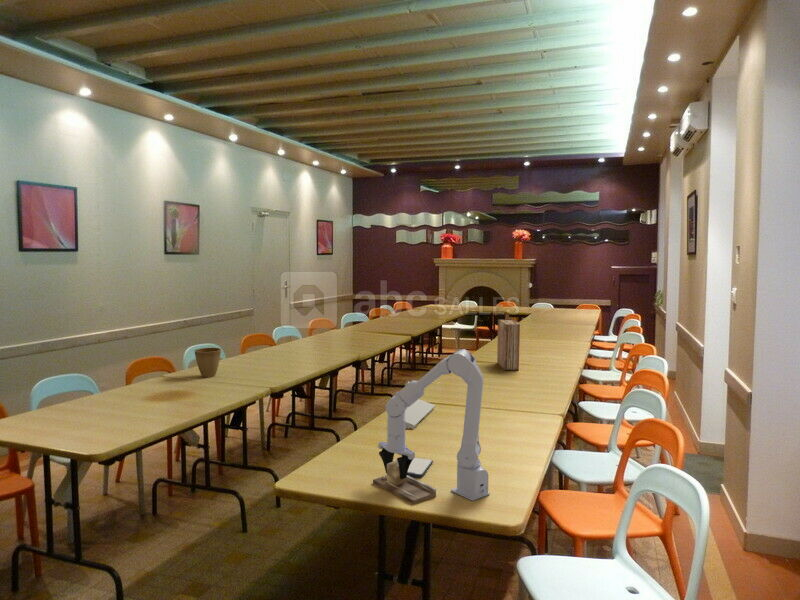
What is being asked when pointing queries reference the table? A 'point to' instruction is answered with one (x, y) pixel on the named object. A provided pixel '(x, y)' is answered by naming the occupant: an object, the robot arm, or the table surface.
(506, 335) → the tall wooden block
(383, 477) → the board
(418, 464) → the smartphone
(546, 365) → the table surface
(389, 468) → the block
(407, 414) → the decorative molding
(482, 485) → the robot arm
